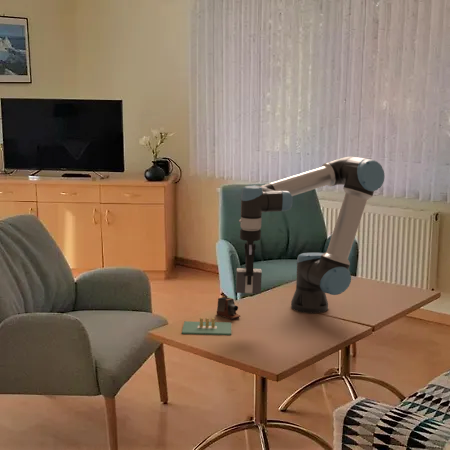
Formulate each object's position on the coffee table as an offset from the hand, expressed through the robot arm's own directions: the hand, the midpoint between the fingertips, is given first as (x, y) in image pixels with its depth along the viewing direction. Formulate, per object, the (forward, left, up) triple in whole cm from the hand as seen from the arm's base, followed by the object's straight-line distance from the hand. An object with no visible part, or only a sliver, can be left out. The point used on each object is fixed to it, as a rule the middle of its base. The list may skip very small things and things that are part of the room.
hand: (248, 290), depth 251 cm
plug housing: (0, 0, 0) cm, 0 cm away
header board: (+15, +1, -15) cm, 21 cm away
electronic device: (+7, -14, -15) cm, 22 cm away
